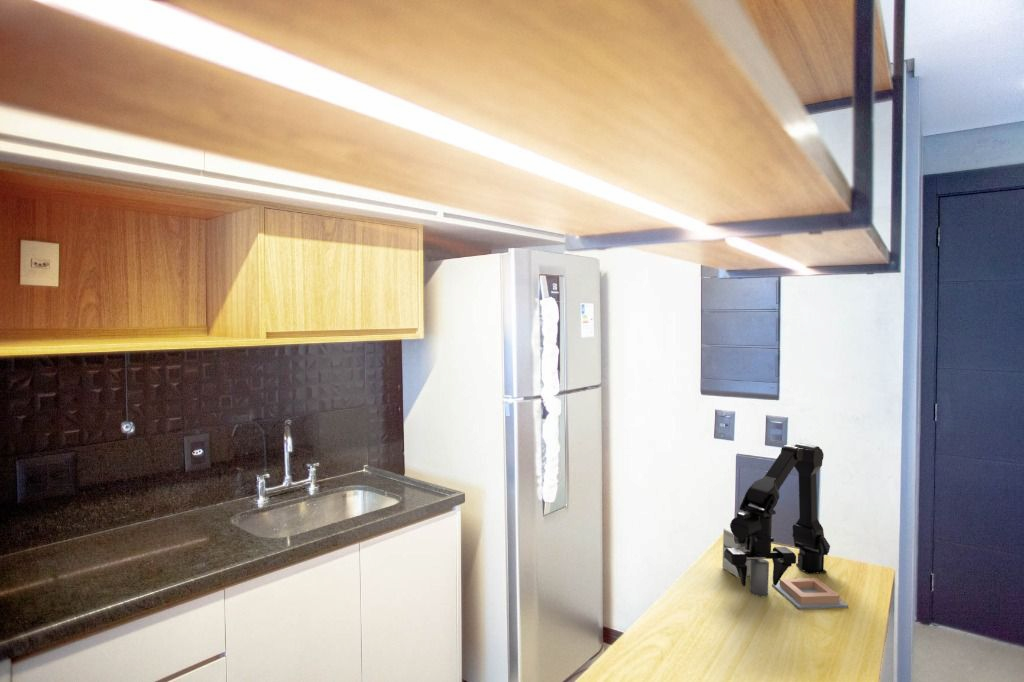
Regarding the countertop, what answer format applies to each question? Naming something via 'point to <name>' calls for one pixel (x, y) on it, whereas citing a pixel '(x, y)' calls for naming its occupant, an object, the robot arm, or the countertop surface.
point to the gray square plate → (809, 593)
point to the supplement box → (729, 543)
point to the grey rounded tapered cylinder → (759, 577)
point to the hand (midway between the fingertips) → (759, 585)
